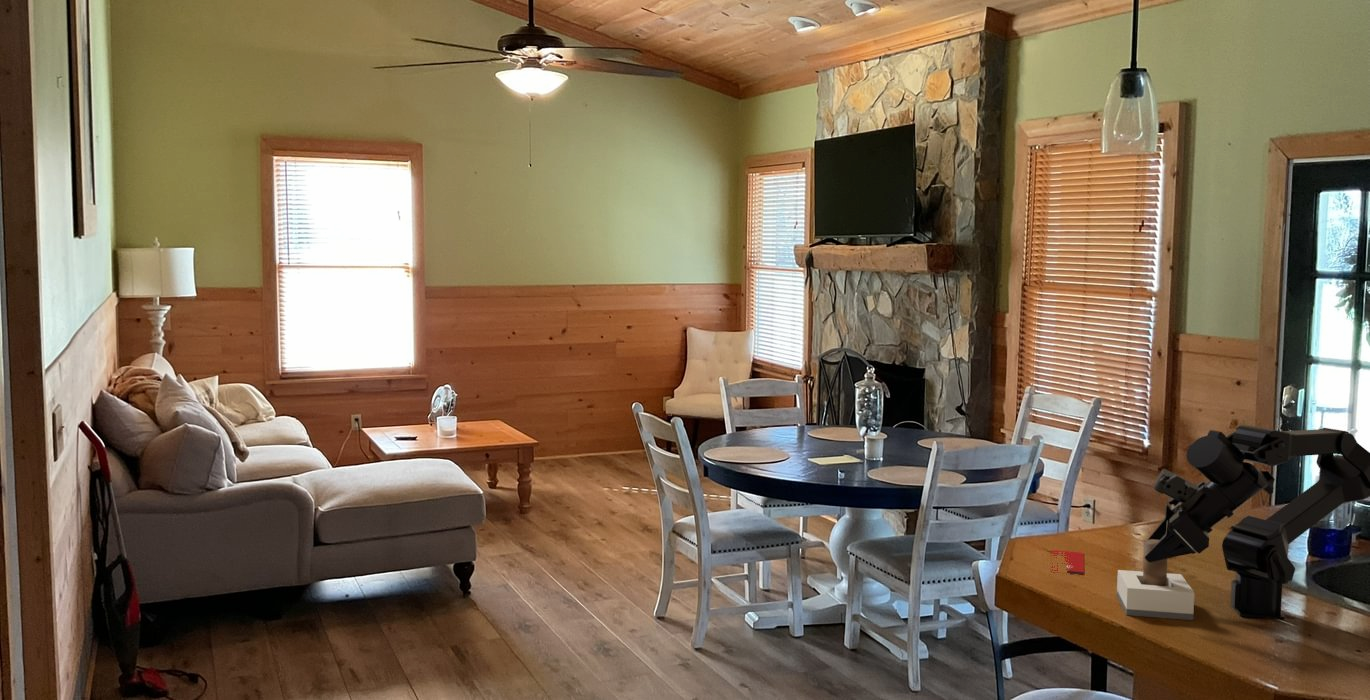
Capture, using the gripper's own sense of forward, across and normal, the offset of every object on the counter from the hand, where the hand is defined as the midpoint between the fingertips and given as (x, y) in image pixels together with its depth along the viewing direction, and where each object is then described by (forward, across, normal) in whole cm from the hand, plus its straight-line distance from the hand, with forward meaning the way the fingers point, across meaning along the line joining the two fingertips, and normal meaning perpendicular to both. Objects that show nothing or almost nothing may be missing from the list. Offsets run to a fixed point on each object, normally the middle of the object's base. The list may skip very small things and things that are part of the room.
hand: (1146, 552), depth 177 cm
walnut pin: (+5, 0, +7) cm, 8 cm away
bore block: (+6, 0, +8) cm, 9 cm away
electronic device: (+16, -21, -3) cm, 27 cm away
